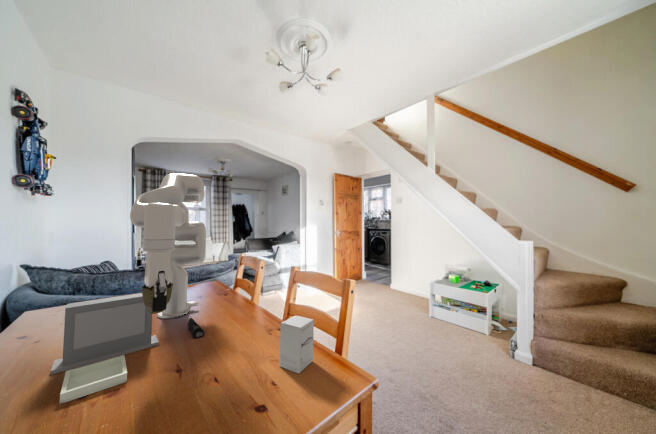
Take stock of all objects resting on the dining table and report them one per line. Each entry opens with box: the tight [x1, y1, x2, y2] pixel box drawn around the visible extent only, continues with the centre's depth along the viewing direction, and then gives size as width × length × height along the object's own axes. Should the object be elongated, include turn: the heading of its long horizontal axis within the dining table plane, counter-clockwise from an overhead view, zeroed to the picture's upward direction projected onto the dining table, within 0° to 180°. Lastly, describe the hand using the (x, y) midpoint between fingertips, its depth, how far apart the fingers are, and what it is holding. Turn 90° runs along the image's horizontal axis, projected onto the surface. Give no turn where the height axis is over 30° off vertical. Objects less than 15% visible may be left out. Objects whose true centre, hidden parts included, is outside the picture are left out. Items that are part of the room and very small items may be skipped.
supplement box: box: [279, 315, 315, 374], centre depth 70 cm, size 7×7×13 cm
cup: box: [141, 282, 173, 315], centre depth 69 cm, size 8×7×8 cm
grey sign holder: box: [50, 292, 160, 375], centre depth 75 cm, size 24×7×17 cm, turn 133°
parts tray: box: [59, 354, 128, 405], centre depth 62 cm, size 12×12×2 cm
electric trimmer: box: [187, 317, 205, 340], centre depth 92 cm, size 4×16×3 cm, turn 40°
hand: (157, 306), depth 69 cm, fingers closed on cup, 6 cm apart
